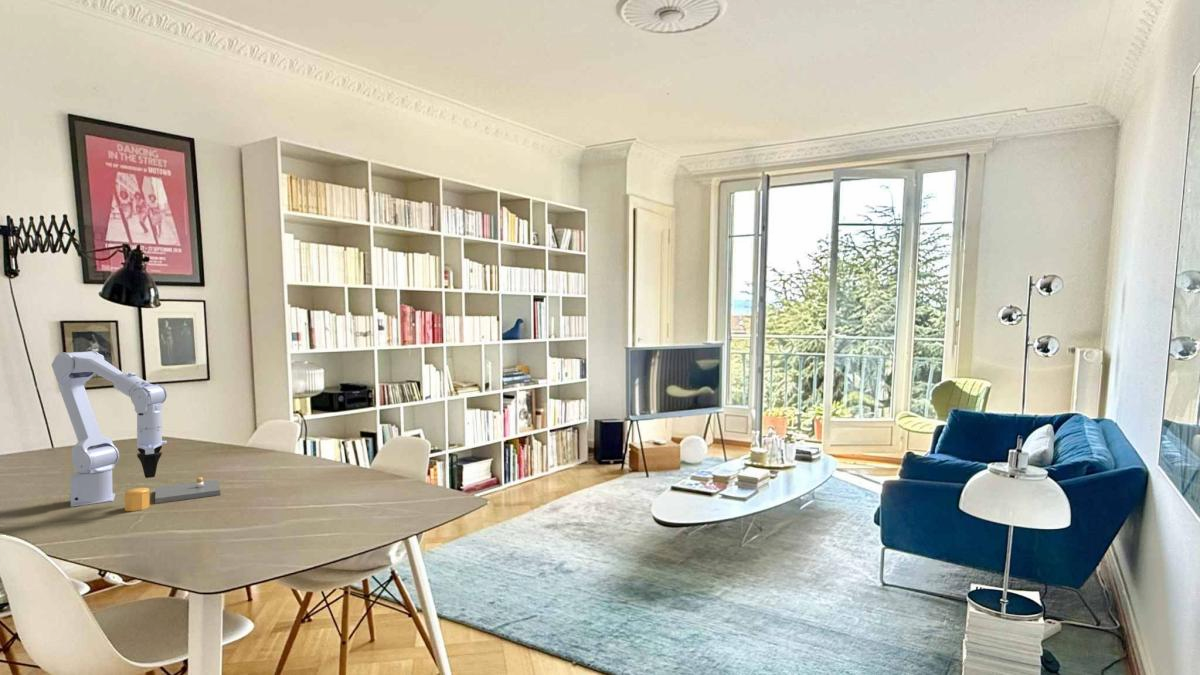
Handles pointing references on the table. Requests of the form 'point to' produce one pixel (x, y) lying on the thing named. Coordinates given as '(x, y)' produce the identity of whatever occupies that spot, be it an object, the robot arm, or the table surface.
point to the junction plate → (187, 491)
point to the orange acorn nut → (137, 499)
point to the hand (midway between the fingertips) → (150, 474)
